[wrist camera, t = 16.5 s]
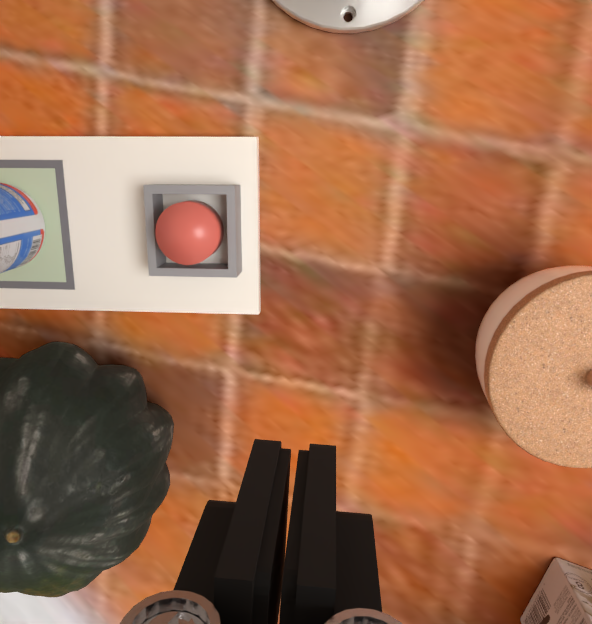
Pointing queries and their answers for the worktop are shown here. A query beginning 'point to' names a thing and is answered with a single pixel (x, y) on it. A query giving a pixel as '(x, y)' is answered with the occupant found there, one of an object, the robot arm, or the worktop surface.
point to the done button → (189, 232)
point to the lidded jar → (542, 364)
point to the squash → (75, 468)
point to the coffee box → (561, 596)
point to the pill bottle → (19, 228)
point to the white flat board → (134, 223)
